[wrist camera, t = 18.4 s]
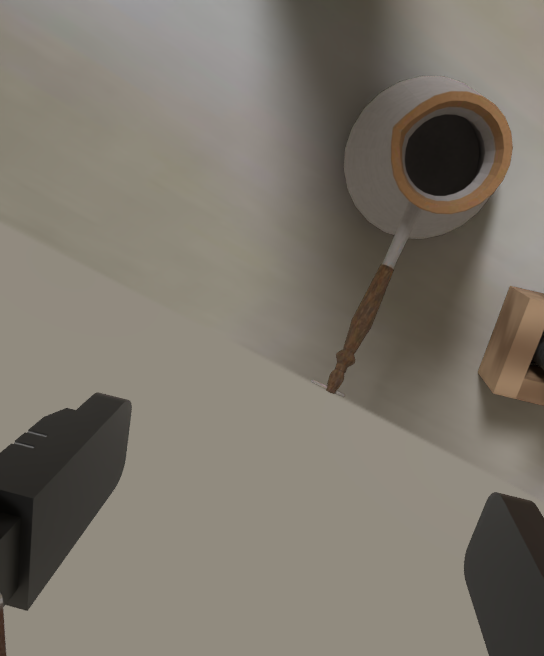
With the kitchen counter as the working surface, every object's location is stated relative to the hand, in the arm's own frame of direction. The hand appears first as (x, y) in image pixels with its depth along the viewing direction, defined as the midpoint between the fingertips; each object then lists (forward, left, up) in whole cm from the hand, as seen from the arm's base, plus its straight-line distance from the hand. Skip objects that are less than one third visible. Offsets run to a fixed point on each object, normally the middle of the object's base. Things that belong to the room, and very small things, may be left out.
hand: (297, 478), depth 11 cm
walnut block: (+3, +19, -33) cm, 38 cm away
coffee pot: (-4, +4, -33) cm, 34 cm away
